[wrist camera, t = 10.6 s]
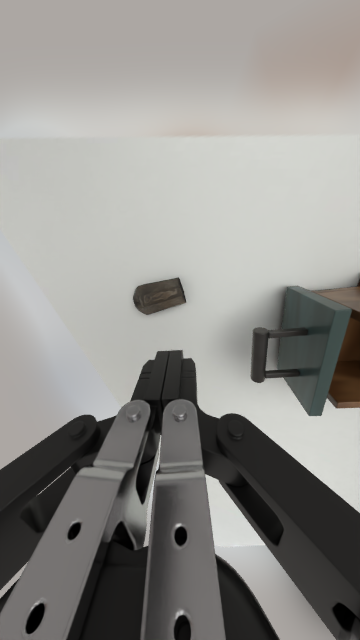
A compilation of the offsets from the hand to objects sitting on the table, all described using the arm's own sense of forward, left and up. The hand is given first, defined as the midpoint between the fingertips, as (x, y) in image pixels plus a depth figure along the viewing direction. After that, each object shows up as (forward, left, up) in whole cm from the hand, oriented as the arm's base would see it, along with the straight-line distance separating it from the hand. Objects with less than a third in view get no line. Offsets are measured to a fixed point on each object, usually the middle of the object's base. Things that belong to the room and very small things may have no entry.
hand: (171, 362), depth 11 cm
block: (-1, -3, -12) cm, 13 cm away
